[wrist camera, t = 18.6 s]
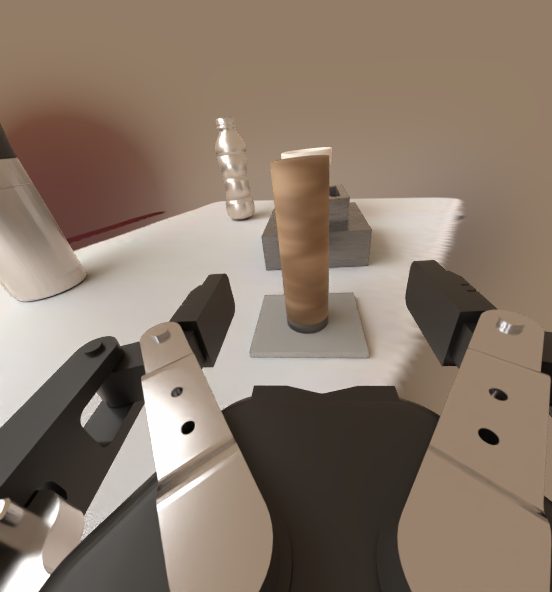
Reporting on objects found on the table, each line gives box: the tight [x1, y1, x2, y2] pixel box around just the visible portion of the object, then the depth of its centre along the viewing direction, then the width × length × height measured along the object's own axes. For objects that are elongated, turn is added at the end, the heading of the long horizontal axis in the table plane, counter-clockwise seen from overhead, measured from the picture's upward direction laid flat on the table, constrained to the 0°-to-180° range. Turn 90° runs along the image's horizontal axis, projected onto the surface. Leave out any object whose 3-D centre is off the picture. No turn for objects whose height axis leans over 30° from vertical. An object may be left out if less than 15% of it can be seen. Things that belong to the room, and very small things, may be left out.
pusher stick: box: [270, 155, 329, 334], centre depth 21 cm, size 4×4×14 cm
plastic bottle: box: [215, 117, 255, 219], centre depth 55 cm, size 6×7×20 cm
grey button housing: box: [262, 184, 372, 270], centre depth 38 cm, size 14×14×8 cm
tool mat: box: [249, 293, 369, 358], centre depth 25 cm, size 10×9×1 cm
